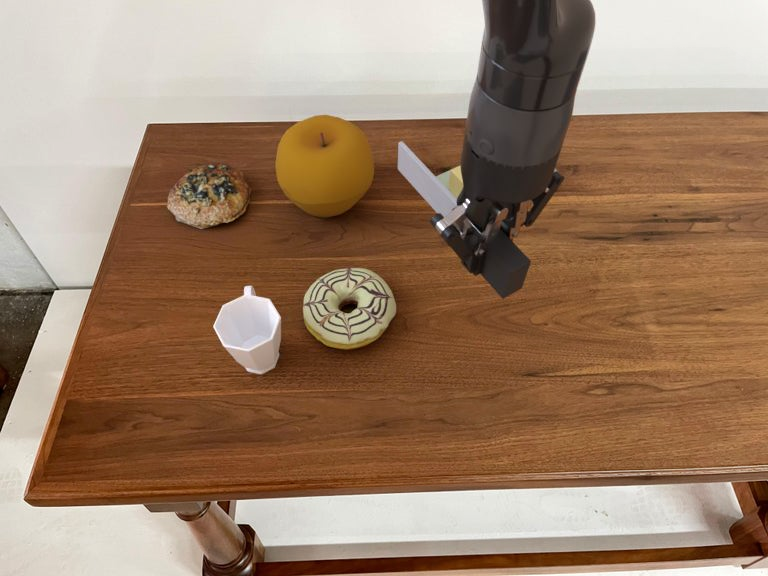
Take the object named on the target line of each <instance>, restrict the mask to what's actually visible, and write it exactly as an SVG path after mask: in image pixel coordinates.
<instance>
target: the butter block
mask: <svg viewBox="0 0 768 576" xmlns="http://www.w3.org/2000/svg"><path fill="white" fill-rule="evenodd" d="M453 168H454V169H453ZM453 168H451V169H452V170H451V169H450V170H451V171H450V179H449V187H448V188H449V189H450V191H451V192H452V193H453V194H454V195H455V196H456V197H457V198H458V196H459V194H460V193H461V191H462V189H463V179H462V174H461V166H460V165H458V166H456V168H455V167H453Z"/></svg>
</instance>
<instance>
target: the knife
mask: <svg viewBox="0 0 768 576" xmlns="http://www.w3.org/2000/svg"><path fill="white" fill-rule="evenodd" d="M397 170H398V172H400V174H401V175H402V176H403V177H404V178H405V179H406V180H407V181H408V183H409V184H410V185H411V186H412V187H413V188H414V189H415V190H416V192H417V193H418V194H419V195H420V196H421V197H422V198H423V199H424V200H425V201H426V202H427V203H428V205H429V206H430V207H431V208H432V209H433V210H434V212H436V214H437V213H441V214H442V215H443V217H445V216H446V215H448V214H449V213H450V212H451V211H453V210H454V209H455V208H456V207H457V199H456V198H455V197H454V196H453V195H452V194H451V193H450V192H449V190H448V189H447V188H446V187H445V186H444V185H443V184H442V183H441V182H440V181H439V180H438V179H437V178H436V176H435V174H434V173H433V172H432V171H431V170H430V168H428V167H427V166H426V165H425V164H424V162H422V160H421V159H420V158H419V157H417V155H416V154H415V153H414V152H413V150H411V149H410V148H409V146H408V145H407V144H406V143H405V142H404V141H403V140H401V141H399V142H398V147H397ZM464 226H465V225H464V222H463V228H462V230H463V229H464ZM486 252H487V253H486V257H485V261H484V266H483V270H482V273H481V274H480V275H481V276H482V277H483V279H484V280H485V281H486V282H487V283H488V285H490V287H491V288H492V289H493V290H494V291H495V292H496V294H497V295H499V296H500V298H501V299H502V300H504V299H507V298H508V297H510V296H511V295H514V293H516V292H518V291H520V290H522V289H523V287H524V284H525V281H526V277H527V275H528V273H529V270H530V267H531V264H532V260H531V259H530V258H529V257H528V256H527V254H525V253H524V252H523V251H522V249H520V248H519V246H518V245H517V244H515V242H512V241H511V240H510V239H509V237H508V236H507V235H506V234H505V233H504V232H503V231H502V230H501V229H500V228H499V231H498V233H497V236H496V238H495V239H493V240H491V241H490V242H489V245H488V248H487V250H486Z"/></svg>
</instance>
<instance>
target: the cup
mask: <svg viewBox="0 0 768 576" xmlns="http://www.w3.org/2000/svg"><path fill="white" fill-rule="evenodd" d="M212 327H213V329H214V331H215V333H216V335H217V337H218V339H219V340H220V342H221V345H222V346H223V347H224V349H225V350H226V351H227V352H228V353H229V354H230V356H231V357H232V358H233V359H234V360H235V361H236V363H237V364H239V365H241V366H242V367H243V368H245V370H246V372H248V373H252V374H257V375H264V374H265V373H267V372H270V371H272V370H273V369H275V368H276V365H277V363H278V360H279V357H280V352H279V350H280V346H281V341H282V317H281V315H280V313H279V312H278V310H277V309H276V306H275V305H274V303H273V302H272V300H271V298H267V297H262V296H257V293H256V290H255V288H254V286H253V285H252V284H251V285H245V286H244V287H243V295H241V296H239V297H237V298H235V299H233V300H231V301H229V302H227V303H224V304H223V305H222V306H221V308H220V310H219V312H218V315H217V317H216V319H215V321H214V324H213V326H212Z"/></svg>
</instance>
